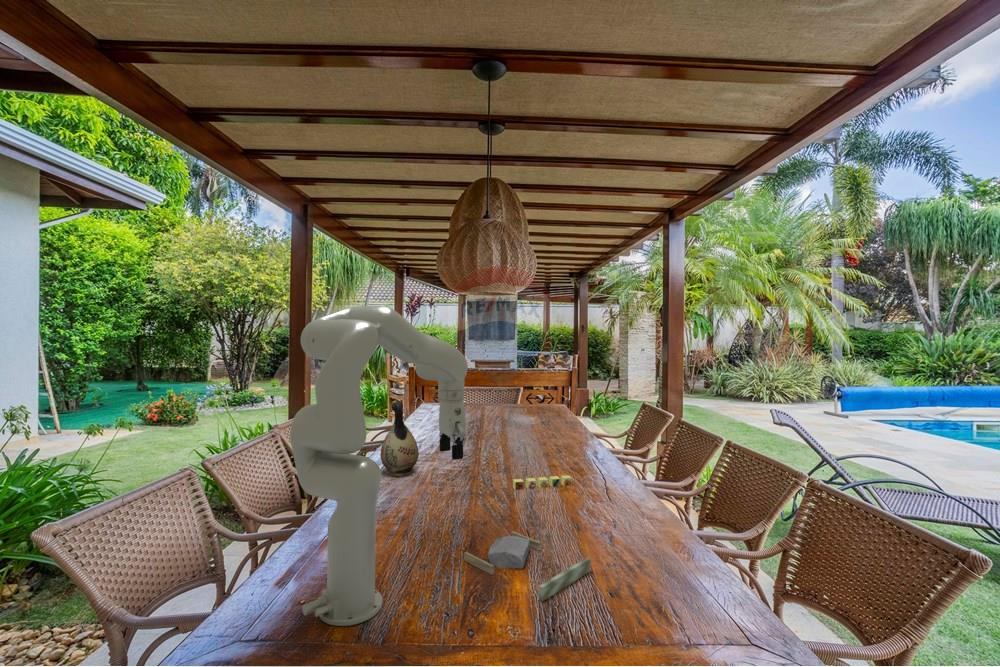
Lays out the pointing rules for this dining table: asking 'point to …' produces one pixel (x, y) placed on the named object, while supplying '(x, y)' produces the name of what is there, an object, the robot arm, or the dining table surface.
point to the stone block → (509, 552)
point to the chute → (550, 585)
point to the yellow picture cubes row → (542, 482)
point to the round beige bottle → (399, 446)
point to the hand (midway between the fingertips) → (451, 454)
